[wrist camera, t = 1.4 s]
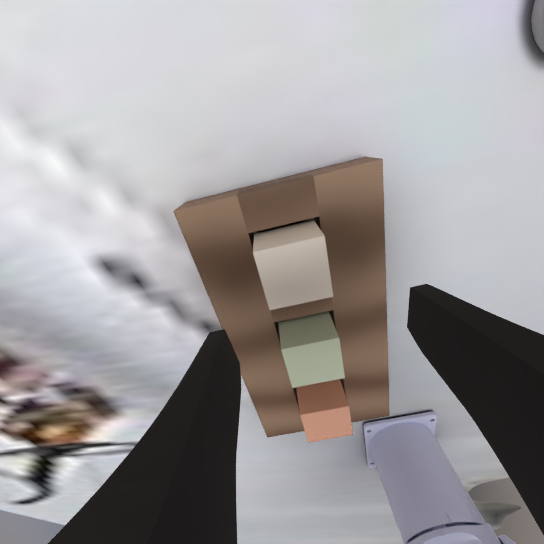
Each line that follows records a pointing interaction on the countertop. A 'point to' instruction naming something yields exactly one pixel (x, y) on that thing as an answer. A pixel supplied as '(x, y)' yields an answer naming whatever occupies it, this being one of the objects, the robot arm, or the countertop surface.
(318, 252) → the cream button
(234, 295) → the button panel
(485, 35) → the countertop surface
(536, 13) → the ceramic mug
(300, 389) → the terracotta button
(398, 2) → the countertop surface
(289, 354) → the sage button
